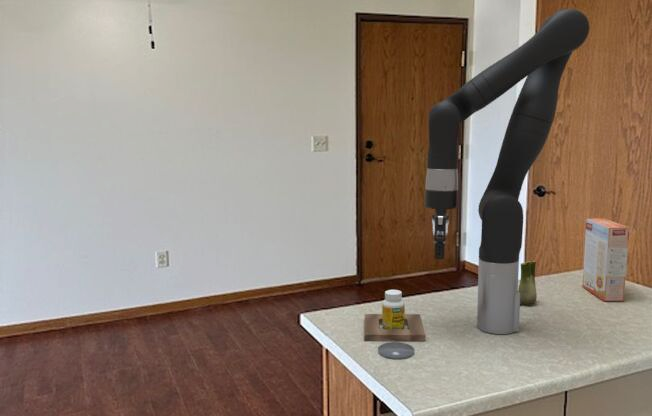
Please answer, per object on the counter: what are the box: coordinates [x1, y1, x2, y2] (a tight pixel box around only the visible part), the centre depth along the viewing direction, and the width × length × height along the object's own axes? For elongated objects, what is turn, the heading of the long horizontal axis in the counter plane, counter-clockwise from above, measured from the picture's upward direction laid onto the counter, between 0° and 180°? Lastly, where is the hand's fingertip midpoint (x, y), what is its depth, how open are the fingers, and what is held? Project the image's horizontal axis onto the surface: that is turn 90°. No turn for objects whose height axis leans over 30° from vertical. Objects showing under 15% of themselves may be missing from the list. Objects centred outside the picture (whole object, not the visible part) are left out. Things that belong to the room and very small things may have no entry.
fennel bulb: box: [518, 260, 537, 306], centre depth 156 cm, size 6×5×12 cm
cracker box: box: [581, 217, 630, 302], centre depth 163 cm, size 14×6×21 cm, turn 179°
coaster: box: [377, 341, 415, 360], centre depth 127 cm, size 8×8×1 cm
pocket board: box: [363, 313, 426, 342], centre depth 140 cm, size 14×14×2 cm
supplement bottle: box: [381, 289, 406, 329], centre depth 139 cm, size 5×5×10 cm
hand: (439, 255), depth 138 cm, fingers open, 8 cm apart
